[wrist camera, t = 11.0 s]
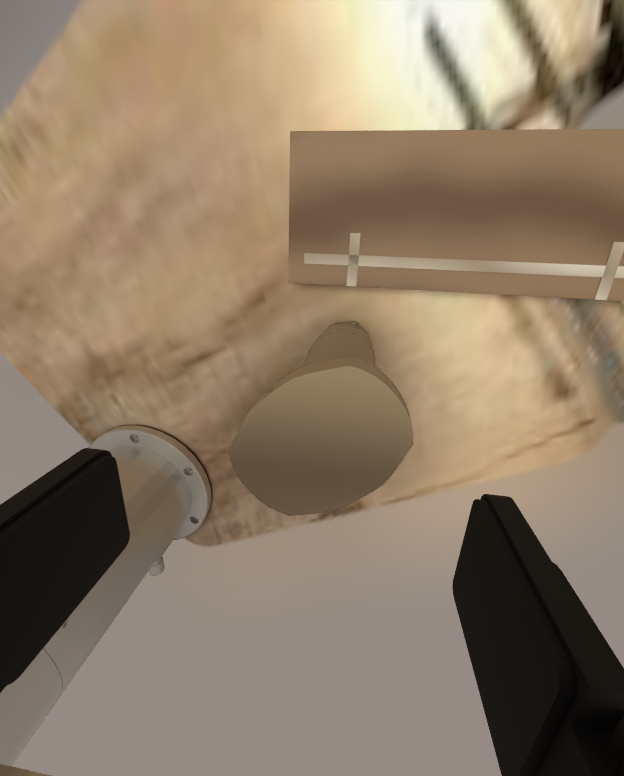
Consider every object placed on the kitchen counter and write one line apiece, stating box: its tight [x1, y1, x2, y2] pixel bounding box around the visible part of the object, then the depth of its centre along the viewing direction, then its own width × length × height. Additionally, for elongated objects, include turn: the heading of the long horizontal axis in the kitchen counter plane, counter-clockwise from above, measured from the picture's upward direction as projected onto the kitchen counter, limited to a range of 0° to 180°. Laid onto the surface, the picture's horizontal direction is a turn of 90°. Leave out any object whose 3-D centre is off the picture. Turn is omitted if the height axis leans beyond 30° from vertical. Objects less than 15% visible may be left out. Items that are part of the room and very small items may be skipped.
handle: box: [229, 321, 413, 515], centre depth 18 cm, size 5×6×15 cm
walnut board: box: [289, 129, 624, 301], centre depth 20 cm, size 8×22×3 cm, turn 87°
